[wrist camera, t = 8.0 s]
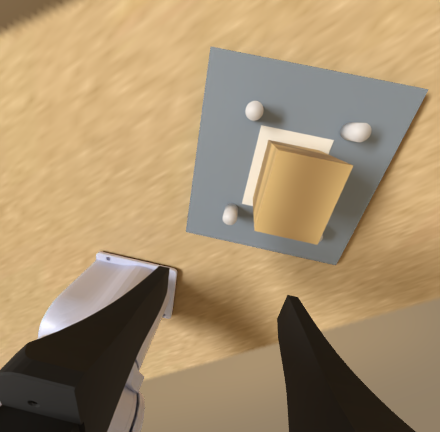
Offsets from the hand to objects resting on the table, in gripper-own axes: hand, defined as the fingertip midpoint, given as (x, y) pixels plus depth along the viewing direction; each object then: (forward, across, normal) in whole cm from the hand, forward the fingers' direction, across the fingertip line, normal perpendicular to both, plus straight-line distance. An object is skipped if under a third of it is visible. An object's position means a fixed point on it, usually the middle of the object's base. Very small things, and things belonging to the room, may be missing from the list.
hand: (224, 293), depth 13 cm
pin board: (+9, -3, -6) cm, 12 cm away
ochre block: (+8, -3, -6) cm, 11 cm away
